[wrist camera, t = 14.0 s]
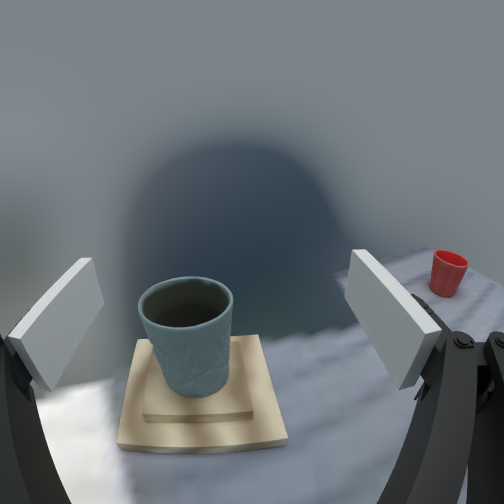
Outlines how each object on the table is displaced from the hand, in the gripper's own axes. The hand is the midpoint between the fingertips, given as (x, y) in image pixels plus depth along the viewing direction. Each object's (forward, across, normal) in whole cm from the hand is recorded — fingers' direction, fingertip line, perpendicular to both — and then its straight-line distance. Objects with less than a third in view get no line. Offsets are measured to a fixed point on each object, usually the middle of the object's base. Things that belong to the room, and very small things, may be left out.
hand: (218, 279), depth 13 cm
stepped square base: (+12, -5, -25) cm, 29 cm away
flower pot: (+37, +55, -28) cm, 71 cm away
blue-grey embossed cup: (+13, -5, -21) cm, 25 cm away
